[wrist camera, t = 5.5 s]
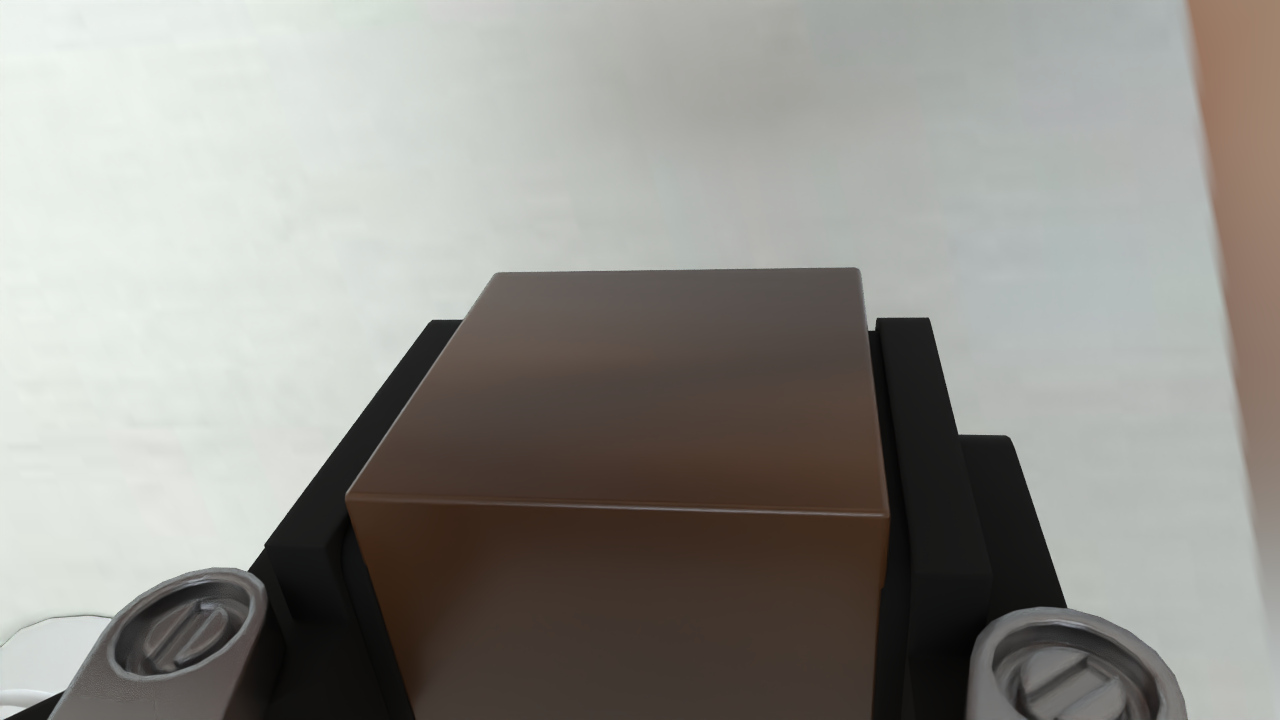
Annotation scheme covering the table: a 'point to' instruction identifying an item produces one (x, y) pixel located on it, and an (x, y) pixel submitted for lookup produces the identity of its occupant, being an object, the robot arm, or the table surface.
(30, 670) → the honey pot
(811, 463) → the block
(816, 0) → the table surface
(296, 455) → the table surface
